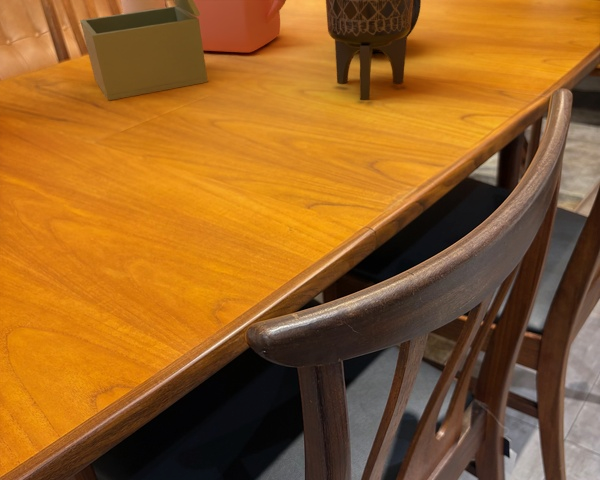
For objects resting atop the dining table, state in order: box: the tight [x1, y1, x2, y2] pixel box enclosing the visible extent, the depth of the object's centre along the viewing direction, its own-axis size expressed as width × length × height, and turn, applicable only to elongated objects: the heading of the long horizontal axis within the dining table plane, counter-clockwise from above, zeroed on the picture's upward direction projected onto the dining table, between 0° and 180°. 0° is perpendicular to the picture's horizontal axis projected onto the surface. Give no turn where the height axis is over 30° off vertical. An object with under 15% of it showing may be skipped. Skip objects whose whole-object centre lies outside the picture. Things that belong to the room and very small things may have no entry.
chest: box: [79, 5, 209, 101], centre depth 101 cm, size 17×13×10 cm
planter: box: [325, 0, 413, 101], centre depth 90 cm, size 13×13×18 cm
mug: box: [120, 0, 167, 14], centre depth 118 cm, size 12×8×12 cm
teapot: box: [190, 0, 287, 53], centre depth 118 cm, size 20×22×14 cm
